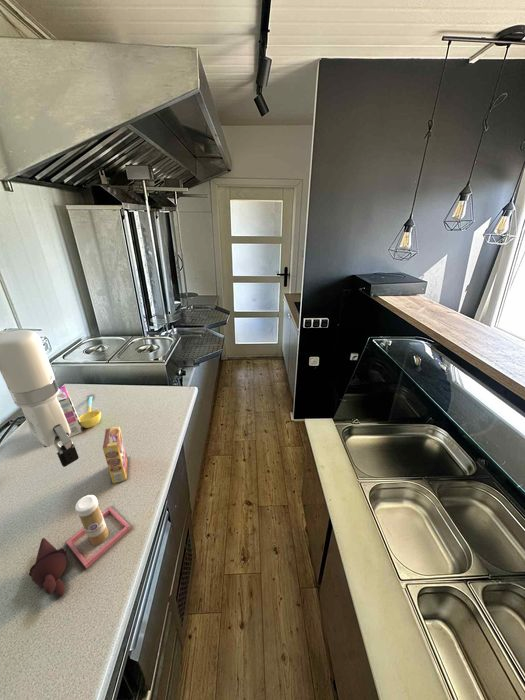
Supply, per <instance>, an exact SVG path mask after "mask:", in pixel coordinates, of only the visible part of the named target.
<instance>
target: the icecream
mask: <svg viewBox="0 0 525 700" xmlns="http://www.w3.org/2000/svg"><path fill="white" fill-rule="evenodd" d="M67 554H68V553H67V550H65V548H64V547H61V548H58V549H57V548H56V547H55V546H54V545H52V544H51V542H49V540H47V538H45V537H42V538H41V540H40V543H39V548H38V551H37V555H36V559H35V563H34V564H33V565H32V566H31V567H30V569H29V572H28V576H29V577H31V581H32V582H33V583H34V584H35V585H37V586H38V587H39V588H40V590H44V592H45V595H46V594H47V595H51V594H52V593H53V592H54V593H55V596H56V598H58V599H59V598H62V597H63V596H64V594H65V589H66V588H65V587H66V586H65V584H64V583H63V581H62V580H61V577H62V575H63V573H64V572H65V570H66V568H67V563H68V562H67Z"/></svg>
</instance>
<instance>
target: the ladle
mask: <svg viewBox="0 0 525 700" xmlns="http://www.w3.org/2000/svg"><path fill="white" fill-rule="evenodd" d="M93 399H94V396H93V395H90V396H89V397H88V400H87V412H86V413H83V414H81V415H80V416H78V418H79V420H80V424H81V426H82V428H83V429H84V428H85V429H87V428H93V427H95V426H96V425H97V424H99V422H100V420H101V418H102V413H101V410H98V409H96V410H95V409H94V410H92V401H93Z"/></svg>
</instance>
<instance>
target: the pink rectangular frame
mask: <svg viewBox="0 0 525 700" xmlns="http://www.w3.org/2000/svg"><path fill="white" fill-rule="evenodd" d="M101 513H102V515H103V518H104V519H105V518H106V517H107V516H108V515H109V514H110V515H112V517H113V518H114V519H116V521H118V523H119V524H120V525H122V527H123V528H122V529H121V530H119V532H117V533H116V534H115V535H114V536H113V537H112V538H111V539H110V540H109V541H107V542H106V543H105V544H104V545H103V546H102V547H100V549H98V550H97V551H96V552H95V553H94V554H93V555H92V556H90V557H89V558H88V559H87V560H86V558H85V557H84V555H82V553H81V551H80V550H78V548H77V547H76V546H75V544H74V543H75V542H76V541H78V540H79V539H80V538H81V537H82V536H84V535H85V534H86V532H85V530H84V527H82V528H81V529H80V530H79V531H78V532H76V533H75V534H74V535H72V536H71V537H70V538H69V539H68V540H66V541H65V543H66V545H67V546H68V548H69V549H70V551H72V553H73V554H74V556H76V558H77V559H78V561H79V562H80V563H81V565H82V566H83V567H84V568H85V569H88V568H89V567H90V566H92V565H93V564H94V563H95V562H96V561H97V560H98V559H99V558H100V557H102V556H103V554H105V553H106V552H107V551H108V550H109V549H110V548H111V547H112V546H114V545H115V544H116V543H117V542H118V541H119V540H120V539H121V538H122V537H123V536H124V535H125V534H127V533H128V532H129V531H130V530H131V529H132V528H131V525H130V524H129V523H128V522H127V521H126V520H125V519H124V518H123V517H122V516H121V515H120V514H119V513H118V512H117V511H116V510H115V509H113V508H112V507H111V506H109V507H108V508H106V509H105V510H103V512H101Z"/></svg>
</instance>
